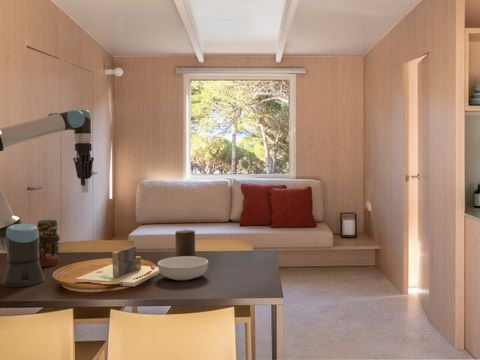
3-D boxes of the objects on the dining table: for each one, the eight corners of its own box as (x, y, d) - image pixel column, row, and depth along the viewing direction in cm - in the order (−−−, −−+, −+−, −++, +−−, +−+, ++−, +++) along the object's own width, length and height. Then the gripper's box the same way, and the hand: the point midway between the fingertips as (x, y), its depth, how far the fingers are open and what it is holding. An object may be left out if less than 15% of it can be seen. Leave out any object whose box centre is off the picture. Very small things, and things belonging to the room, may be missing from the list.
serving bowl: (161, 286, 176) (160, 269, 176) (155, 274, 196) (155, 258, 196) (213, 281, 182) (213, 264, 182) (202, 269, 202) (202, 254, 202)
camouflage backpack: (61, 252, 246) (59, 218, 245) (52, 256, 238) (51, 220, 238) (44, 252, 248) (43, 218, 247) (36, 255, 240) (34, 220, 239)
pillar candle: (190, 261, 220) (189, 230, 219) (172, 259, 223) (171, 229, 222) (198, 257, 229) (198, 227, 228) (181, 256, 232) (180, 226, 232)
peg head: (135, 267, 201) (134, 244, 200) (142, 268, 199) (142, 244, 199) (111, 277, 185) (110, 252, 184) (119, 277, 183) (118, 252, 183)
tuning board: (134, 286, 177) (134, 282, 177) (75, 282, 185) (75, 278, 185) (164, 270, 202) (164, 266, 202) (111, 267, 210) (111, 263, 210)
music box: (45, 268, 210) (44, 225, 209) (27, 267, 214) (26, 224, 213) (69, 261, 224) (67, 221, 223) (52, 260, 228) (50, 220, 227)
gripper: (84, 143, 223) (86, 191, 224) (67, 142, 211) (69, 193, 212) (98, 143, 221) (99, 191, 222) (81, 142, 209) (83, 193, 210)
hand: (84, 192), depth 217 cm, fingers closed
